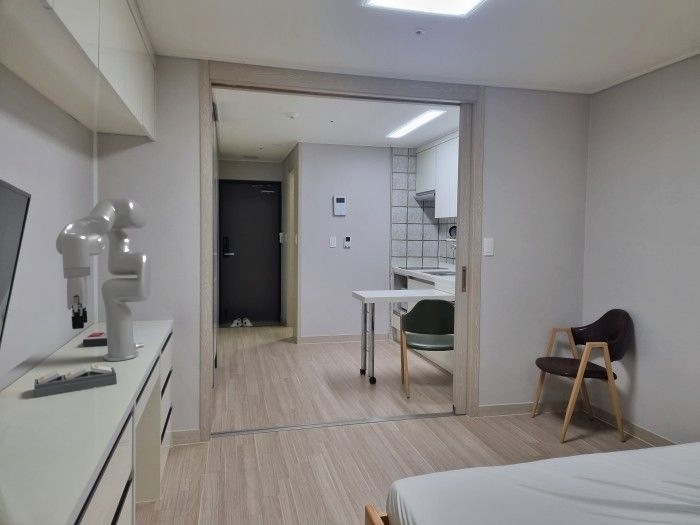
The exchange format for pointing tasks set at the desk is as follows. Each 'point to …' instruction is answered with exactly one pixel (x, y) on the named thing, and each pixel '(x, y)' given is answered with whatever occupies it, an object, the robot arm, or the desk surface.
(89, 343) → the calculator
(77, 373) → the rocker middle
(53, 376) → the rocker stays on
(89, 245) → the robot arm
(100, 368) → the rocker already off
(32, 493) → the desk surface
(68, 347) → the desk surface
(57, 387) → the rocker switch panel
